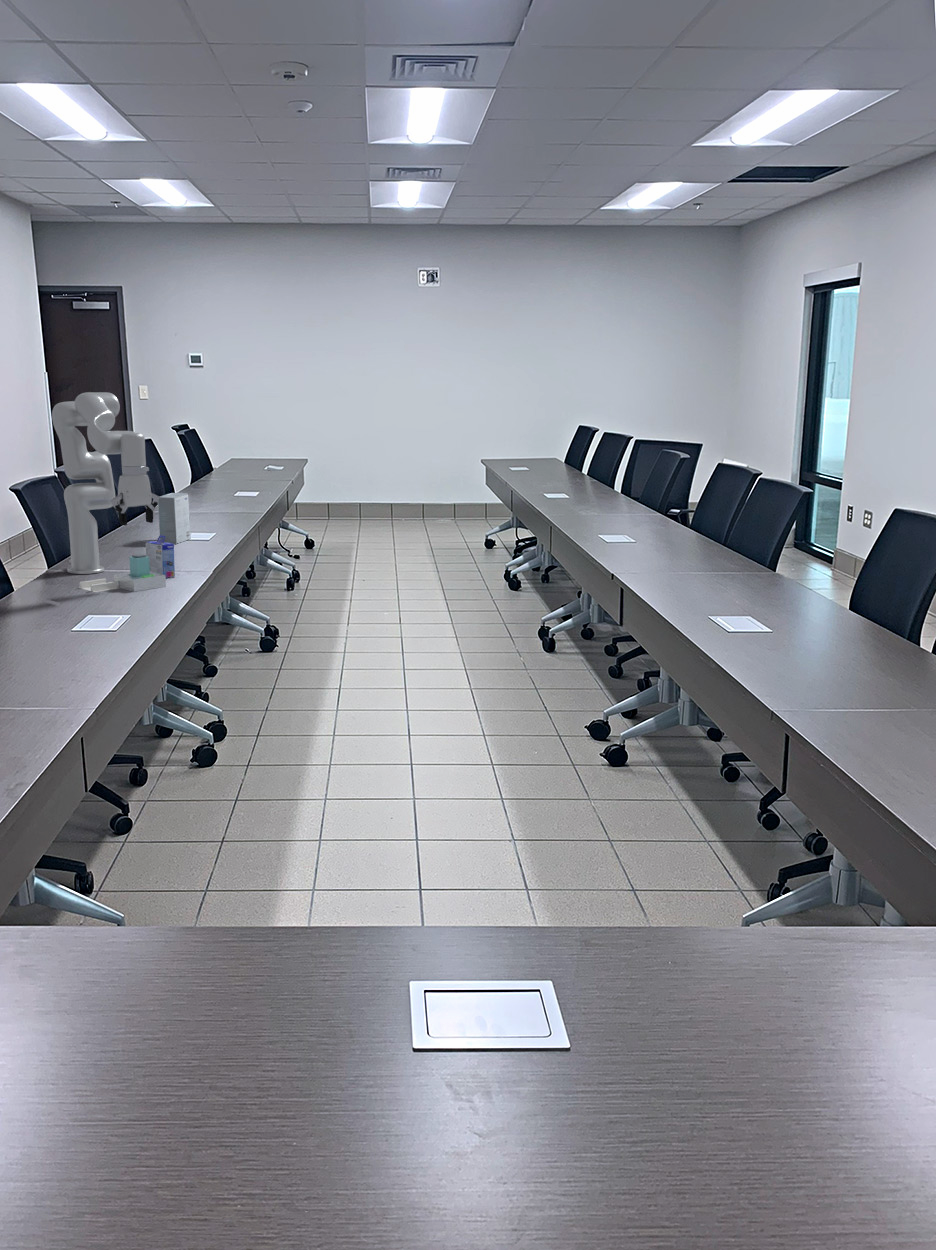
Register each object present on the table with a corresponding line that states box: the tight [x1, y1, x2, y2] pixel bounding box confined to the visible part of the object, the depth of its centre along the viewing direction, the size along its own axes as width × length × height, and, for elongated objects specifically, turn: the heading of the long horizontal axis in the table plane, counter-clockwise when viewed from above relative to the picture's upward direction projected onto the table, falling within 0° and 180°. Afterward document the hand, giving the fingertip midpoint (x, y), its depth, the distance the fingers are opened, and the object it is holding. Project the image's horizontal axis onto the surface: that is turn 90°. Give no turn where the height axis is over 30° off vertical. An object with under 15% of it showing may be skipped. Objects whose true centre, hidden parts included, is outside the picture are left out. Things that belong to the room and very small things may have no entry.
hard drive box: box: [157, 492, 192, 545], centre depth 447 cm, size 16×8×20 cm, turn 172°
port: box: [113, 571, 167, 592], centre depth 350 cm, size 12×12×6 cm
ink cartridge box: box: [145, 534, 176, 579], centre depth 371 cm, size 10×6×14 cm, turn 53°
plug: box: [129, 553, 150, 577], centre depth 349 cm, size 4×4×11 cm
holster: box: [78, 578, 120, 593], centre depth 346 cm, size 10×9×3 cm
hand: (136, 523), depth 345 cm, fingers open, 9 cm apart
